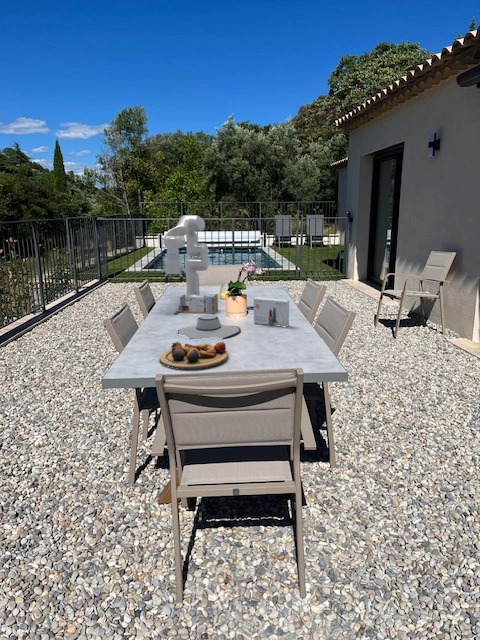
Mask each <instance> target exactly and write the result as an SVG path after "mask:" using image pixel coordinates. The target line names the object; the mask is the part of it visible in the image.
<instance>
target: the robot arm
mask: <svg viewBox="0 0 480 640" xmlns="http://www.w3.org/2000/svg"><path fill="white" fill-rule="evenodd" d="M205 226H206V222H205V220H204V219H203V218H202V217H201V216H199V215H196V214H195V215H194V214H192V215H191V214H190V215H189V214H187V215H182V216H180V218H179V220H178V222H177V224H176V226H174V227H172V228H171V229H169V230H168V231H166V233H165V235H164V237H163V241H162V242H163V246H164V247H165V248H166V253H167V254H165V255H164V257H165V258H166V259H165V267H164V268H162V269H160V272H161V274H162V275H163V276H164V281H165V283H166V284H168V283H169V275H179V280H180V281H179V282H180V284H182V283H183V282H184V276H185V275H186V295H187V296H185V298H186V301H188V297H189V296H190V295H201V294H200V276H199V274H198V272H199V271H201V272H202V271H203V272H205V271H208V268H209V248H208V245H207V244H206V243H205V242H199V236H198V234H197V233H196V232H202V231H204V230H205ZM184 236H186V239H185V237H184ZM185 245H186V254H187V255H188V256H189V257H188V258H186V259H185V260H184V267H182V261H181V258H180V251H179V250H180V248H183V247H185ZM182 271H183V272H182Z"/></svg>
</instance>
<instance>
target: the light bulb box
mask: <svg viewBox="0 0 480 640" xmlns="http://www.w3.org/2000/svg"><path fill="white" fill-rule="evenodd" d="M206 296H207V295H206V294H200V295H190V296H189V297H188V300H187V301H188V302H187V303H188V306H189V312H201V313H204V312H205V311H206Z"/></svg>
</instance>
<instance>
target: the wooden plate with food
mask: <svg viewBox="0 0 480 640" xmlns="http://www.w3.org/2000/svg"><path fill="white" fill-rule="evenodd" d="M170 348H171V349H169V350H166V351H165V352H162V354H160V356H159V362H160V364H161V363H162V364H164V365H166V366H169V367H173V368H178V369H198V370H202V369H201V368H205V369H208V368H207V367H210V368H212V367H211V366H214V367H216V366H215V365H217V366H219V365H221V364H224V363H225V362H226V361H227V360H228V359H229V352H228V351H227V350H226V349H227V347H226V343H225V342H224V341H220V342H217V343H216V344H215V345H212V344H211V343H200V344H190V343H184V345H182V343H181V342H179V341H176V342H172V345H171V346H170ZM224 361H225V362H224ZM162 364H161V365H162ZM218 364H219V365H218ZM164 365H163V366H164ZM166 366H165V367H166ZM178 369H177V370H178Z"/></svg>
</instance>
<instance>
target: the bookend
mask: <svg viewBox="0 0 480 640" xmlns="http://www.w3.org/2000/svg"><path fill="white" fill-rule="evenodd" d="M186 301H187V300H186V294H182V295H181V296H179V305H180V309H179V308H178V309H177V310H178V311H177V310H176V311H177V312H183V311H184V310H186V306H187V304H186Z"/></svg>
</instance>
